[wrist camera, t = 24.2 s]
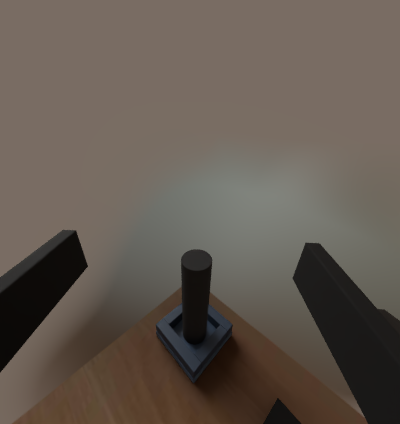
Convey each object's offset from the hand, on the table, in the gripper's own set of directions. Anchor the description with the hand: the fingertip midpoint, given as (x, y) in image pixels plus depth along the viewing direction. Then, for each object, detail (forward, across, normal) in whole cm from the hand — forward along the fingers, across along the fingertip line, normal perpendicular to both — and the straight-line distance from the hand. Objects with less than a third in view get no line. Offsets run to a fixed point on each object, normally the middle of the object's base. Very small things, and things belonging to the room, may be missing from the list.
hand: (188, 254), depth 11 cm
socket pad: (+10, 0, -26) cm, 28 cm away
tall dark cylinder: (+10, 0, -25) cm, 27 cm away
